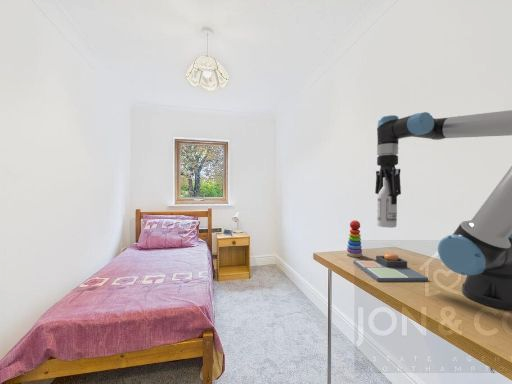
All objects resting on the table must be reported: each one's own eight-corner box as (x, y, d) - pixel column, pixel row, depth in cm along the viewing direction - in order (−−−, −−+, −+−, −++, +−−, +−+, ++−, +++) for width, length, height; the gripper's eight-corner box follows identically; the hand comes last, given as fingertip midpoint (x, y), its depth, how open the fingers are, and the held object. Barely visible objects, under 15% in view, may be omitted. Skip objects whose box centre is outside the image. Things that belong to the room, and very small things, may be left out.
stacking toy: (343, 255, 127) (344, 220, 127) (349, 252, 133) (350, 218, 133) (359, 258, 122) (359, 221, 122) (364, 255, 128) (364, 220, 127)
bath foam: (399, 226, 98) (399, 177, 97) (392, 228, 93) (392, 177, 93) (381, 224, 103) (382, 178, 103) (374, 226, 99) (374, 177, 98)
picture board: (428, 280, 93) (428, 271, 93) (376, 281, 93) (377, 271, 92) (394, 262, 115) (394, 255, 115) (353, 263, 115) (353, 255, 114)
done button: (400, 262, 106) (401, 256, 106) (388, 262, 106) (388, 256, 106) (393, 258, 112) (393, 253, 112) (381, 258, 112) (381, 253, 112)
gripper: (412, 151, 88) (412, 214, 88) (383, 158, 108) (382, 209, 108) (392, 151, 88) (391, 214, 88) (366, 158, 108) (366, 209, 108)
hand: (386, 211), depth 98 cm, fingers closed on bath foam, 7 cm apart
